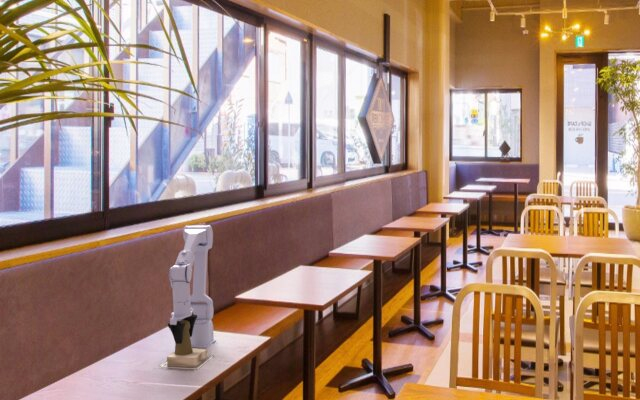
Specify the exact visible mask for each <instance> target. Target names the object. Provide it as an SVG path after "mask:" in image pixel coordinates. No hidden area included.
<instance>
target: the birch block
mask: <svg viewBox="0 0 640 400" xmlns="http://www.w3.org/2000/svg"><path fill="white" fill-rule="evenodd" d="M192 350H193V352H192V353H191V354H188V355H176V354H175V351H173V352H172V353H171V354H169V355H167V356H166V360H167V366H181V367H196V366H197V365H199V364H200V363H201V362H202V361H204V360H205V359H206V358H207V355H208V349H207V348H198V347H192Z"/></svg>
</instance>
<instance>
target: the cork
mask: <svg viewBox="0 0 640 400" xmlns="http://www.w3.org/2000/svg"><path fill="white" fill-rule="evenodd" d="M180 322H181V323H184V324H185V326H184V330H183V340H182V343H181V344H177V343H175V342H174V343H175V344H174V345H175V346H174V352H175V354H176V355H188V354H191V353H192V352H193V350H192V348H193V347H192V345H191V339H190V334H189V329H190V323H189V321H187V320H181V321H180Z"/></svg>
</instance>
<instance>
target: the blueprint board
mask: <svg viewBox="0 0 640 400" xmlns="http://www.w3.org/2000/svg"><path fill="white" fill-rule="evenodd" d="M214 356H215V355H214V354H207V358H206V359H205V360H204V361H202V362H201V363H200V364H199V365H197V366H196V367H181V366H167V359H166V360H164V361H163V362H161V363H160V364H159V365H158V366H156V367H155V369H156V370H157V369H161V370H176V371H177V370H178V371H192V372H195V370H199V369H200V368H201V367H203V366H204V365H205V364H206V363H207V362H209V361H211V360H212V358H213V357H214Z"/></svg>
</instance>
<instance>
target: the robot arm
mask: <svg viewBox="0 0 640 400" xmlns="http://www.w3.org/2000/svg"><path fill="white" fill-rule="evenodd" d="M182 237H183V241H184V247H183V250H181V251H179V253H178V254H177V255H178V256H177V258H176V260H175V264H174V265H172V266H171V267H170V268H169V271H168V279H169V282H170V288H171V289H172V301H173V303H172V304H173V306H172V307H173V311H172V312H171V313H170V316H171V317H170V318H169V322H167V327H168V328H169V330H170V332H171V334H172V336H173V339H174V343H177V344H181V343H182V340H183V330H184V326H185V324H184V323H181V322H180V321H181V320H187V321H189V323H190V329H189V334H190V339H191V345H192V348H197V349H207V348H208V347H209V346H210V345H212V344H214V343H215V342H216V341H217V339H215V338H214V323H213V321H212V319H213V318H214V311H215V309H214V301H213V299H212V298H211V297H210V296H208V295H207V293H206V292H207V271H208V267H207V266H208V254H209V253H208V252H209V250H210V249H212V248H213V243H214V231H213V228H212V226H211V225H210V224H207V225H185V226H184V228H183V231H182ZM192 275H193V278H192ZM191 280H193V281H192V294H191V285H190V283H191Z"/></svg>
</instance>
